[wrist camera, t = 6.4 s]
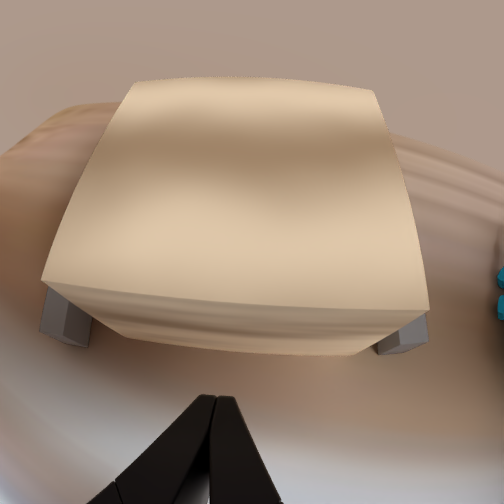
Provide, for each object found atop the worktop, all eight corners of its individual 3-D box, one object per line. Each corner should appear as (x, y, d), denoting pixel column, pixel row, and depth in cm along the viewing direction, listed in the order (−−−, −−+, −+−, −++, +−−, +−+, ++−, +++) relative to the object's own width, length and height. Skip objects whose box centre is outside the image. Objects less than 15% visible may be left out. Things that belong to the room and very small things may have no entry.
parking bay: (404, 352, 14) (429, 341, 11) (65, 343, 14) (39, 331, 11) (367, 165, 19) (377, 139, 17) (112, 165, 19) (100, 140, 17)
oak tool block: (350, 356, 14) (429, 309, 7) (127, 338, 14) (40, 280, 8) (340, 190, 18) (373, 90, 12) (165, 181, 19) (135, 82, 12)
